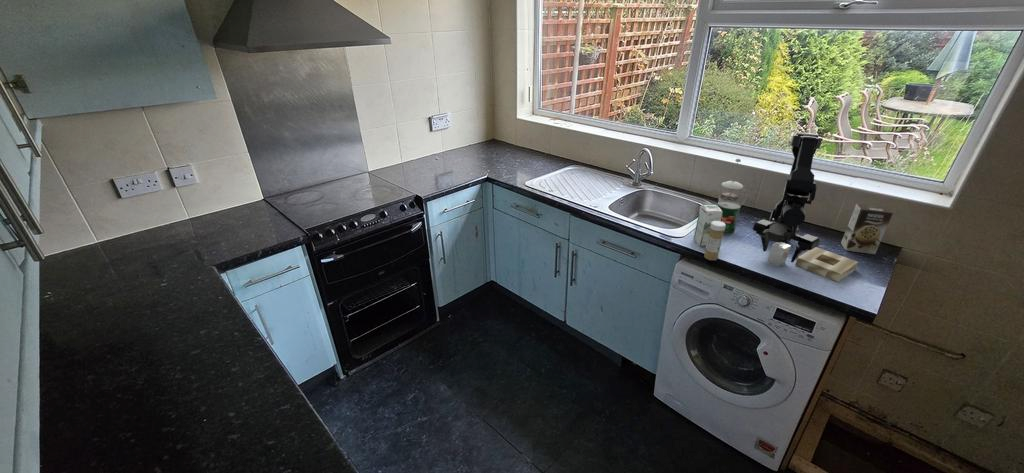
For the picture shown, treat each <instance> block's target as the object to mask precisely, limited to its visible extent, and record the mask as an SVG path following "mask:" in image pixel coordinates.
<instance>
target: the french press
mask: <svg viewBox="0 0 1024 473" xmlns="http://www.w3.org/2000/svg"><path fill="white" fill-rule="evenodd" d="M734 161H735V163H737V164H736V168H735V172H734V176H733V180H727V181H724V182H722V183H721V186H722V187H723V188H725V189H728V190H730V191H721V192H720V195H719V196H718V201H717V205H716V206H718V203H719V202H720V201H731V202H735V203H737V204H739V205H740V207H741V206H743V205H744V204H746V202H747V200H748V198H749V195H748V191H747V190H745V189H744V185H743V184H742V183H740V182H738V181H735V177H736V173H737V168H738V163H741V162H742V161H741V159H740V158H736V159H735V160H734ZM733 190H734V191H735V190H737V191H738V190H739V192H740V193H743V192H744V193H745V197H744V199H743V200H742V201H741V202H740V200H741V199H740V194H739V193H738V192H733Z"/></svg>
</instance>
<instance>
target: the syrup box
mask: <svg viewBox="0 0 1024 473" xmlns="http://www.w3.org/2000/svg"><path fill="white" fill-rule="evenodd" d="M698 212H699V213H698V215H697V216H698V217H697V221H696V224H695V225H696V226H695V231H694V236H693V240H694V241H695V242H694V243H696V244H697V245H698V246H699V247H706V246H707V241H708V237H709V233H710V226H711V222H713V221H721V217H722V213H723V211H722V210H721V209H720V208H719V207H718V206H717V205H716V204H706V205H705V204H702V205H700V207H699V211H698Z"/></svg>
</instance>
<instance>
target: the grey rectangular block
mask: <svg viewBox="0 0 1024 473" xmlns="http://www.w3.org/2000/svg"><path fill="white" fill-rule="evenodd" d="M771 245H772V246H771V248H770V252H769V256H768V259H767V261H766V262H767V263H768V264H770V265H773V266H776V267H778V268H780V267H782V266H784V265H785V264H786V262H787V258H788V256H789V252H790V250H791V247H792V245H790V244H788V243H786V242H784V243H782V242H781V243H779V242H776V241H775V242H773V243H772V244H771Z"/></svg>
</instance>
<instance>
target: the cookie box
mask: <svg viewBox="0 0 1024 473" xmlns="http://www.w3.org/2000/svg"><path fill="white" fill-rule="evenodd" d="M892 217H893V212H892V211H891V210H890V209H889V208H888V207H886V206H882V205H871V204H863V203H856V204H855V206H854V209H853V212H852V213H851V217H850V219H849V222H848V224H847V227H846V229H845V232H844V234H843V237H842V240H841V241H840V243H841V245H842V247H843V249H844V250H845V251H847V252H848V251H849V252H856V253H863V254H871V255H876V254H877V251H878V249H879V247H880V245H881V242H882V240H883V237H884V235H885V232H886V230H887V228H888V225H889V223H890V222H891V221H890V220H891V219H892Z"/></svg>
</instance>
